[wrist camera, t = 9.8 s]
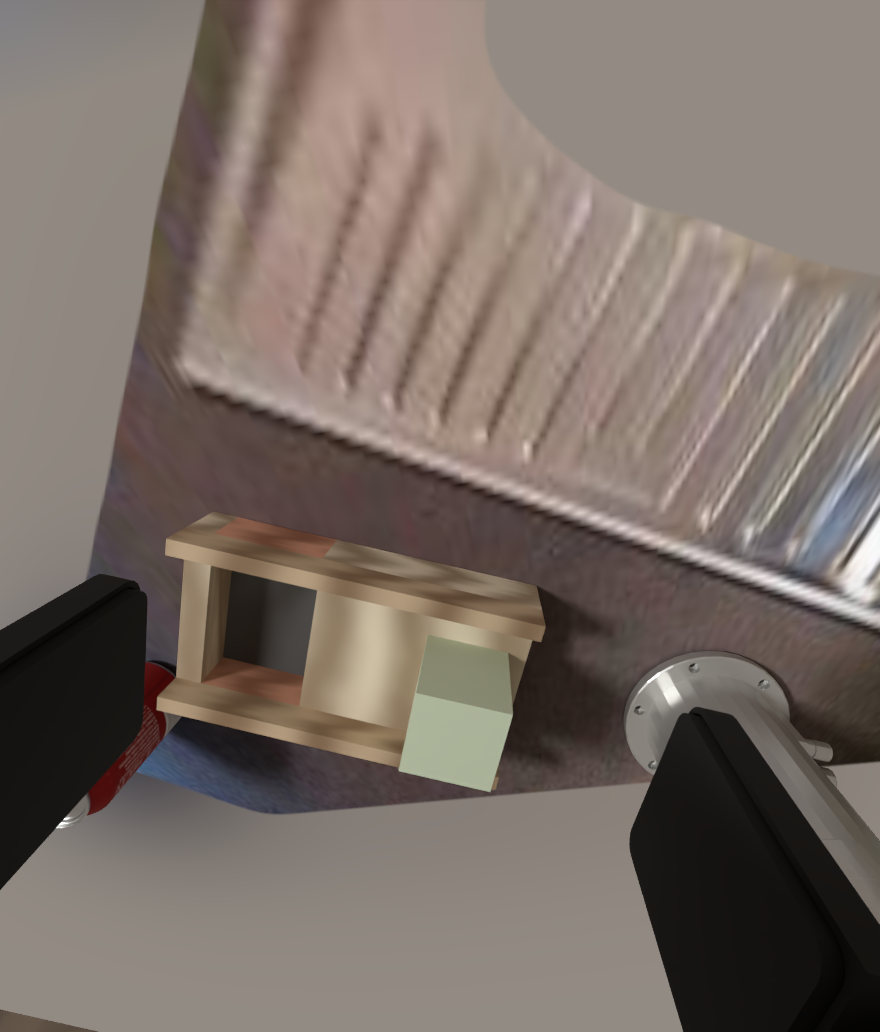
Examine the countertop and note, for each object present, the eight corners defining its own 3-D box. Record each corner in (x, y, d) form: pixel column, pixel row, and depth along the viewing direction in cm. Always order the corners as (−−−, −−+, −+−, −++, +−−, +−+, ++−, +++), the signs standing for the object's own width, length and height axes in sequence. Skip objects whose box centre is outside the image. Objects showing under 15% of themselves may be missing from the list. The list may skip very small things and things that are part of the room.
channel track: (536, 585, 41) (545, 626, 35) (493, 730, 45) (494, 790, 39) (213, 511, 41) (166, 538, 35) (201, 661, 45) (156, 710, 39)
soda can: (197, 671, 46) (102, 776, 34) (184, 731, 48) (89, 848, 36) (124, 645, 46) (3, 742, 34) (113, 706, 48) (-4, 817, 36)
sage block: (508, 652, 38) (513, 714, 32) (489, 719, 40) (490, 791, 33) (427, 634, 38) (416, 693, 32) (412, 702, 40) (398, 771, 34)
